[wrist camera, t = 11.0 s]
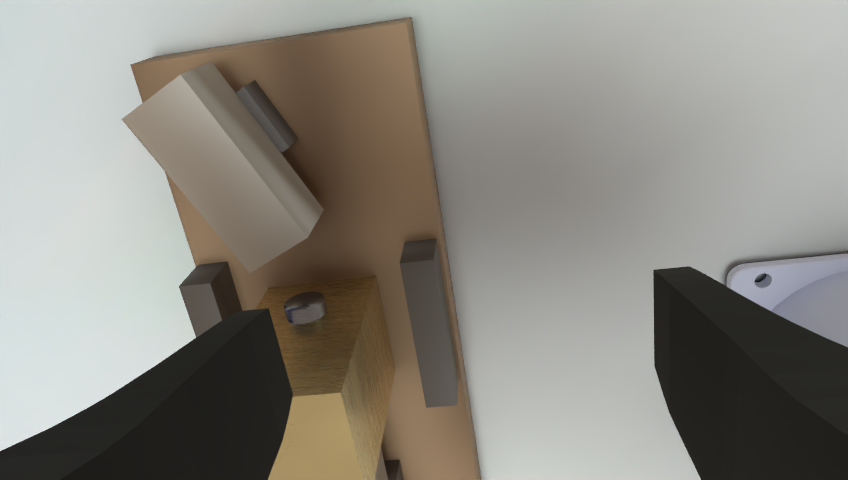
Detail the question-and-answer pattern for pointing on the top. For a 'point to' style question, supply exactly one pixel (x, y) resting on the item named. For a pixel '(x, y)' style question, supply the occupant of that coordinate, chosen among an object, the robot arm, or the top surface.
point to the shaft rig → (319, 204)
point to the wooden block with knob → (332, 377)
